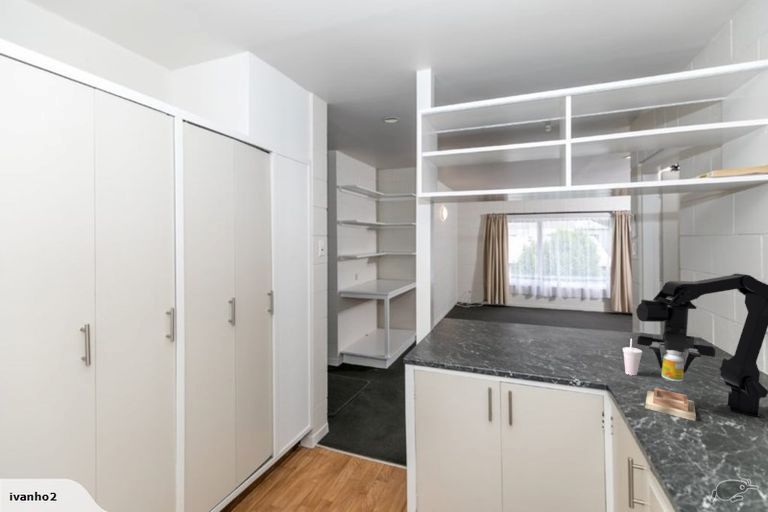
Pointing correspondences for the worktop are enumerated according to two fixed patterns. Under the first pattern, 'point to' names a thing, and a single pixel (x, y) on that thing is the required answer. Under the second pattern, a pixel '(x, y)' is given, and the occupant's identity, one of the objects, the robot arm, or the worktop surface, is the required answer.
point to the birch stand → (670, 403)
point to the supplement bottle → (673, 365)
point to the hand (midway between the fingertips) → (672, 370)
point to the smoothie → (631, 359)
